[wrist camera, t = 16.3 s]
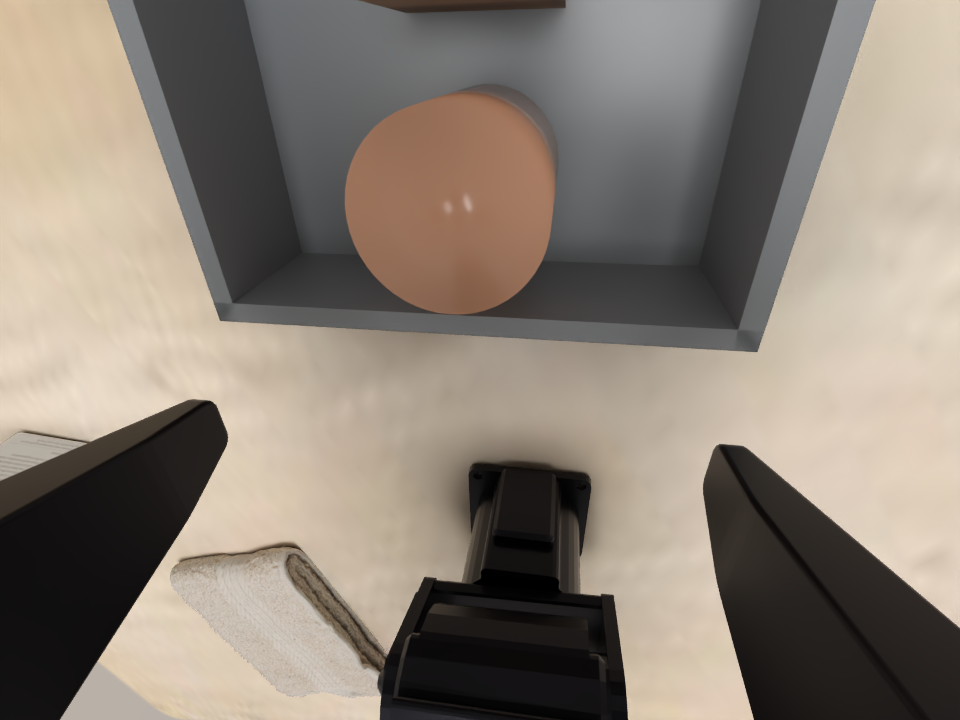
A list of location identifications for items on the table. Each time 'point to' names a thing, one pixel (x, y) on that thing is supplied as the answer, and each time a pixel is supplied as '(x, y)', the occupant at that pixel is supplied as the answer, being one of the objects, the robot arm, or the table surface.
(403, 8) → the cube
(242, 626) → the washcloth
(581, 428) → the table surface
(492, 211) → the cylinder
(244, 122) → the tote
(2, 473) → the skincare box
